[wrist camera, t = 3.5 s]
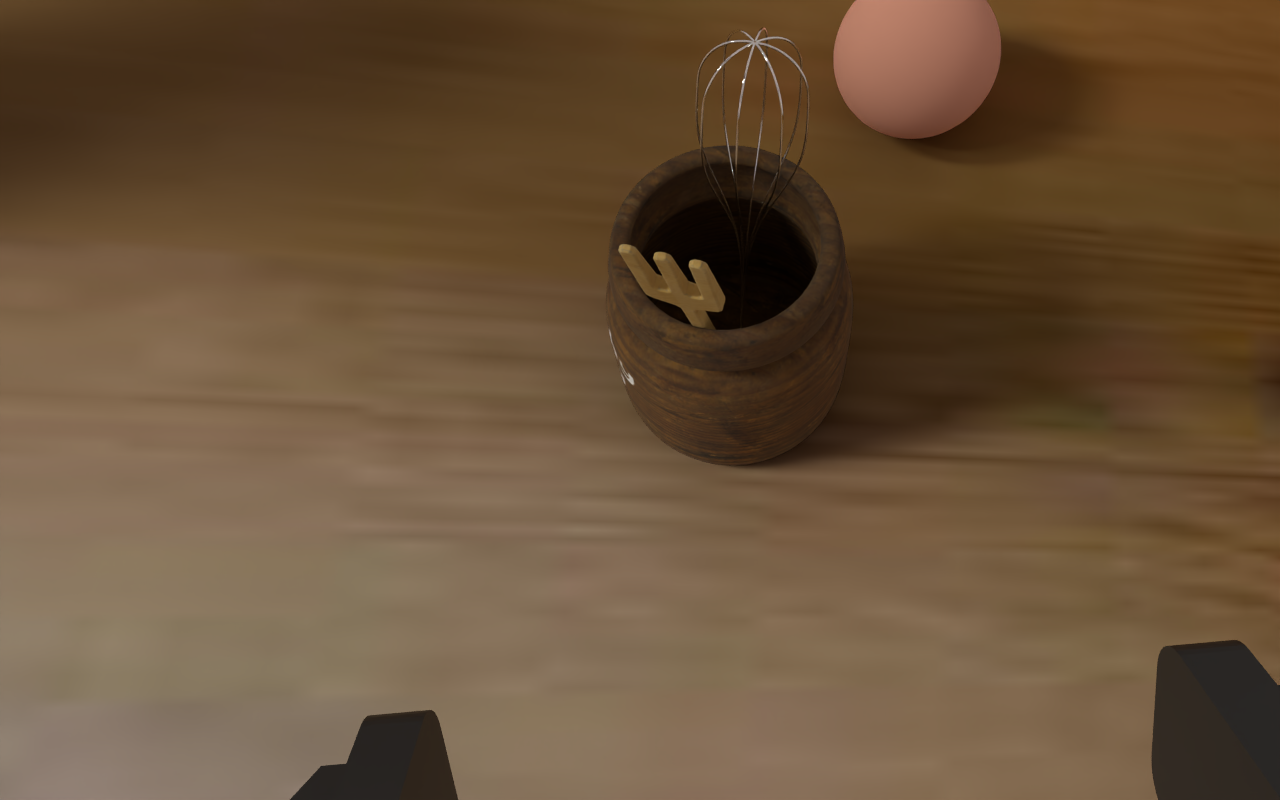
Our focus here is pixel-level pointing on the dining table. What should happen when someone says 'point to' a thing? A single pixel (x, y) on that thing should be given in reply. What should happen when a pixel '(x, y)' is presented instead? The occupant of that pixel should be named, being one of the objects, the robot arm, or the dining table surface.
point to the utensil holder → (730, 295)
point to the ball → (916, 63)
